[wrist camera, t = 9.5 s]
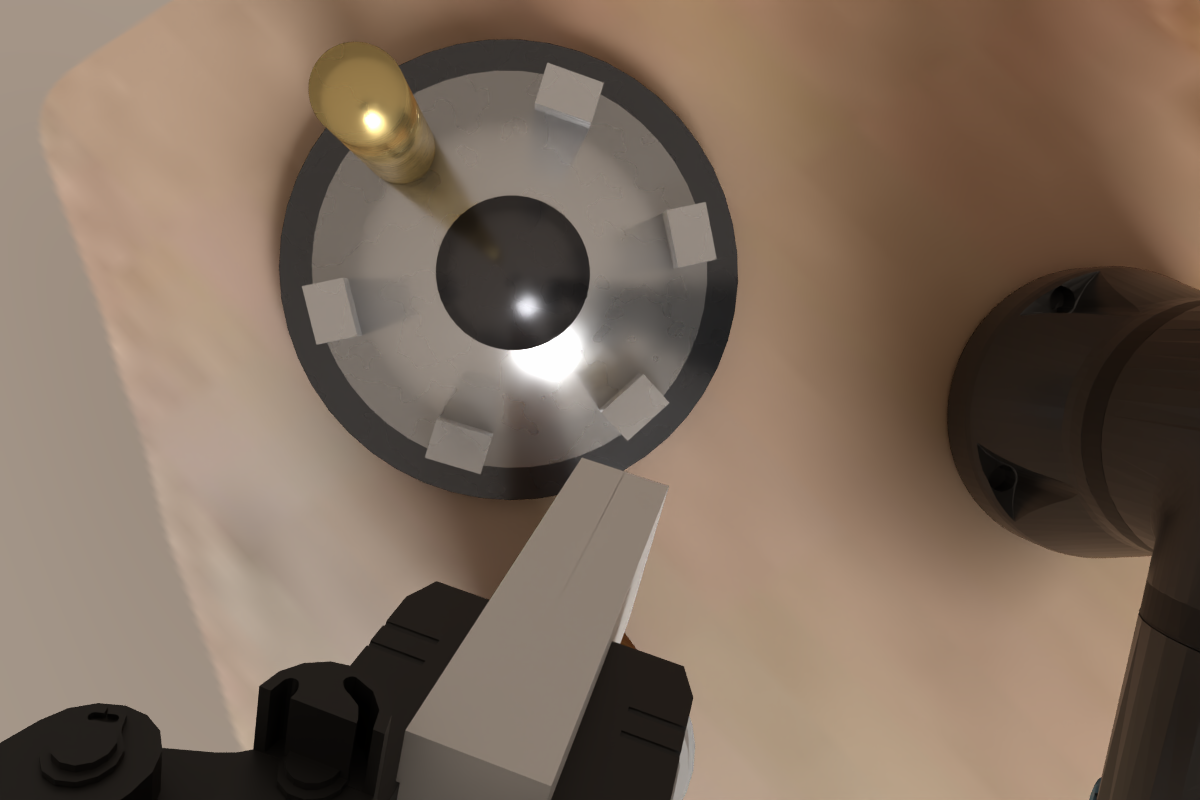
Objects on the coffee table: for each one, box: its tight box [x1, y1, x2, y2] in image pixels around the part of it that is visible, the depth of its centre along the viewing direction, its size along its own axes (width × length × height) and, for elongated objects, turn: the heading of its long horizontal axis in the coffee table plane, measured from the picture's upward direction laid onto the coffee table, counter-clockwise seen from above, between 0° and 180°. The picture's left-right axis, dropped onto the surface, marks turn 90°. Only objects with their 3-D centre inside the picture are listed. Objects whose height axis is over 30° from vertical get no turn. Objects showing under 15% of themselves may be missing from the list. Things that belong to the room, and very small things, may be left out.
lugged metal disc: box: [302, 42, 717, 474], centre depth 36 cm, size 18×18×12 cm
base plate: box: [279, 40, 738, 500], centre depth 43 cm, size 22×22×2 cm
